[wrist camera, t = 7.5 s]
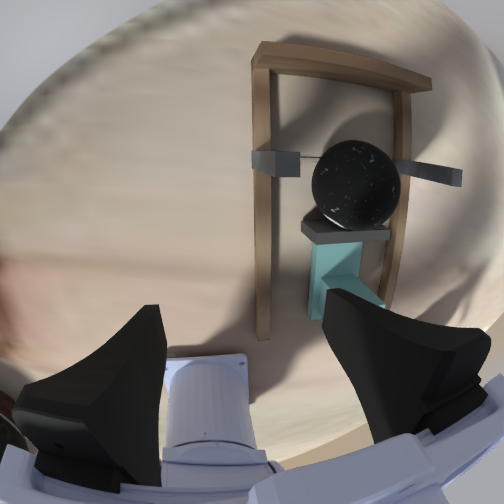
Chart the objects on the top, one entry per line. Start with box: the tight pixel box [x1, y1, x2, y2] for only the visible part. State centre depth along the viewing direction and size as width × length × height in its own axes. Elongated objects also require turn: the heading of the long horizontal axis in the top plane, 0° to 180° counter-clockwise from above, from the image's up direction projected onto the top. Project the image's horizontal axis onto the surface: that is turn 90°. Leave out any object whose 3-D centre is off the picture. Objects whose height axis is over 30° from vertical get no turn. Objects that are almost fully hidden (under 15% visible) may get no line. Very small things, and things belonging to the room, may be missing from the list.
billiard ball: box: [312, 140, 401, 231], centre depth 17 cm, size 6×6×6 cm
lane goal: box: [251, 41, 462, 341], centre depth 18 cm, size 22×13×7 cm, turn 1°
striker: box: [301, 220, 391, 321], centre depth 20 cm, size 8×6×6 cm
